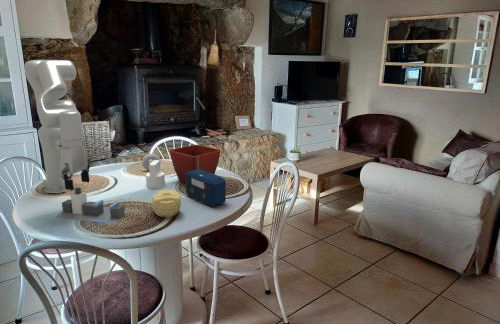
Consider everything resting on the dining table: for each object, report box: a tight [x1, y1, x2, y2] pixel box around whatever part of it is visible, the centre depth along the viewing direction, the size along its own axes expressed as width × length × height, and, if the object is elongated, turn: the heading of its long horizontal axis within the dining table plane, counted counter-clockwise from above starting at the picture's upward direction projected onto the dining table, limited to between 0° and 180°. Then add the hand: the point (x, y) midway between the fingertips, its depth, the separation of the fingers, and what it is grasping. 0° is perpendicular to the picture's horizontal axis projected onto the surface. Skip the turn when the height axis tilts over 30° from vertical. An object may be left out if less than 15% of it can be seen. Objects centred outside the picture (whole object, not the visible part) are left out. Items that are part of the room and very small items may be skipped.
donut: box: [141, 153, 161, 171], centre depth 207 cm, size 10×3×10 cm, turn 112°
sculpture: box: [151, 189, 182, 218], centre depth 150 cm, size 11×12×11 cm
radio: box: [185, 160, 227, 207], centre depth 165 cm, size 21×9×20 cm, turn 45°
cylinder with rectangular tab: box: [145, 159, 166, 189], centre depth 183 cm, size 9×9×12 cm
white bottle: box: [70, 187, 88, 214], centre depth 147 cm, size 4×4×10 cm
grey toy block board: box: [54, 198, 132, 228], centre depth 147 cm, size 25×14×6 cm, turn 78°
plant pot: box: [169, 144, 222, 183], centre depth 191 cm, size 19×19×17 cm
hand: (77, 185), depth 145 cm, fingers open, 9 cm apart
